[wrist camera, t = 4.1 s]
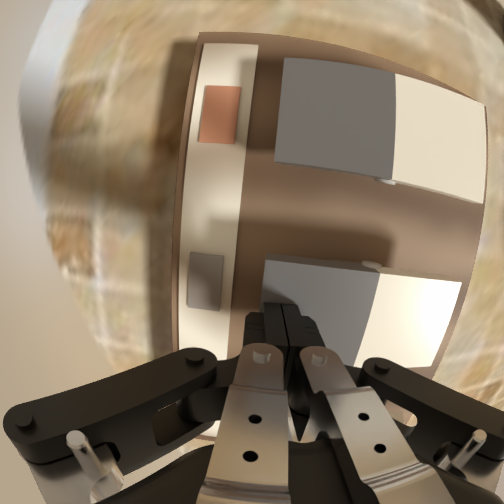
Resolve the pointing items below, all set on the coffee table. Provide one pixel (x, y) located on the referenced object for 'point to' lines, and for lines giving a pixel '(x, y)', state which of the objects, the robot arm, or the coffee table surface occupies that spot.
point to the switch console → (287, 199)
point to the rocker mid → (366, 306)
